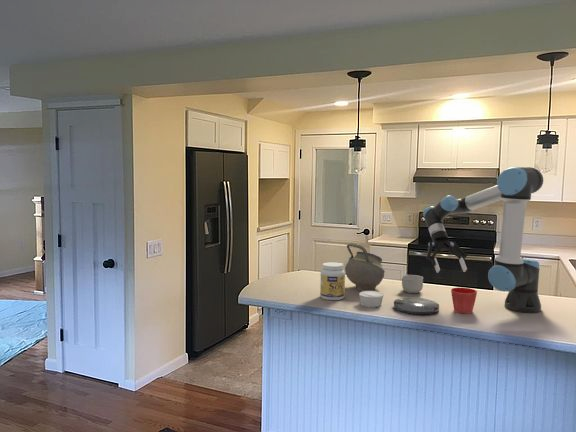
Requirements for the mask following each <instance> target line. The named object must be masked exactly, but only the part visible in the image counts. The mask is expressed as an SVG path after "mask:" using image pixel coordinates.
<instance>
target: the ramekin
mask: <svg viewBox="0 0 576 432" xmlns="http://www.w3.org/2000/svg"><path fill="white" fill-rule="evenodd" d="M358 295H359V300H360V304H361V306H363V307H367V308H379V307H380V306H381V305H382V302H383V299H384V293H383V292H380V291H376V290H373V291H363V290H362V291H361V292H359V293H358Z"/></svg>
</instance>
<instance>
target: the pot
mask: <svg viewBox="0 0 576 432" xmlns="http://www.w3.org/2000/svg"><path fill="white" fill-rule="evenodd" d="M346 248H347V251H348V252H349V254H350V257H349V258H348V261H347V262H346V264H345V267H344V271H345V277H346V278H347V279H348V280H349V281H350V282H351V283H352V284H353V285H355V288H356V290H359V291H362V292H363V291H376V287H378V286H379V285H380V284H381V283H382V281H383V279H384V277H385V273H386V272H385V270H384V268H383V265H382V262H383V258H382V257H380V256H378V255H376V254H374V253H370V252H368V251H367V249H366V248H365V247H364V246H362V245H360V244H357V243H353V242H351V243H350V242H349V243H347V245H346ZM351 248H357V249H360V250H362V251H356V254H355V256H354V255H353V251H352V250H351Z"/></svg>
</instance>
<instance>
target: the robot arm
mask: <svg viewBox="0 0 576 432" xmlns="http://www.w3.org/2000/svg"><path fill="white" fill-rule="evenodd" d="M543 184H544V176H543V174H542V173H541V171H540V170H538V169H537V168H534V167H531V166H529V167H526V166H525V167H523V166H522V167H521V166H513V167H509V168H506V169H504V170H503V171H501V173H499V175H498V177H497V180H496V185H494V186H491V187H488V188H486V189H483V190H479V191H478V192H474V193H472V194H470V195H467V196H464V197H462V198H456V197H454V196H452V195H450V194H449V195H447V196H445V197H443V198H442V199H441V200H440V201H439V202H438V203H437V204H436V205H435V206H428V207H427V208H425V209H424V210H423V212H422V214H423V219H424V221H425V224H426V226H427V228H428V232H429V235H430V238H431V240H430V241H429V242H427V243H428V244H427V246H428V247H427V253H426V257H425V259H426V260H427V261H429V262H431V265H432V266H433V267H434V269H435V271H436V273H437V274H439V272H440V271H441V268H440V265H439V262H438V260H437V257H436V255H437V254H438V252H448V253H450V254H452V255H454V256H455V257H457V258H458V259H459V260H458V261H459V264H460V267H461V270H462V272H464V273H465V272H466V271H467V270H468V268H467V265H466V264H467V262H466V261H467V260H466V258H468V254H467V253H466V252H465V251H464V250H463V248H461V247H460V245H458V244H457V242H456V240H452V241H449V237H448V234H447V231H446V229H445V226H444V223H443V220H445V219H446V218H448V216H449V215H457V214H468V213H469V214H470V213H471V212H472V211H474V210H477V209H479V208H480V209H481V208H482V207H486V206H488V205H489V206H490V205H492V204H494V203H498V202H500V201H503V209H502V210H503V211H502V219H501V220H502V223H501V230H500V231H501V233H500V241H499V242H500V243H499V249H498V250H499V252H498V255H497V256H496V257H495V258H494V263H493V266H492V267H490V269H489V270H488V272H487V273H488V274H487V278H488V281H489V283H490V284H491V286H492V287H493V288H494V290H495V289H496V290H497V291H498V292H499V291H500V292H508V293H507V295H506V297H505V300H504V308H506V309H507V310H511V311H515V312H519V313H527V314H529V313H531V314H534V313H535V314H536V313H539V312H541V311H542V304H541V300H540V296H539V293H538V292H539V278H540V277H539V276H540V262H539V261H537V260H534V259H530V258H522V257H521V254H522V247H523V246H522V244H523V237H524V228H525V227H524V226H525V218H526V209H527V208H526V207H527V203H528V202H530V201H532V199H531V198H532V194H535V193H536V192H538V191H539V190H541V188H542V187H543ZM433 247H435V249H434V252H433V254H432V250H433Z"/></svg>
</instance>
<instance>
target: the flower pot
mask: <svg viewBox="0 0 576 432" xmlns="http://www.w3.org/2000/svg"><path fill="white" fill-rule="evenodd" d="M450 292H451V299H452V306H453V311H454V312H456V313H458V314H466V315H468V314H471V313H473V310H474V308H475V305H476V304H475V302H476V298H477V294H478V291H477V290H476V289H474V288H468V287H453V288H451V291H450Z"/></svg>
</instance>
